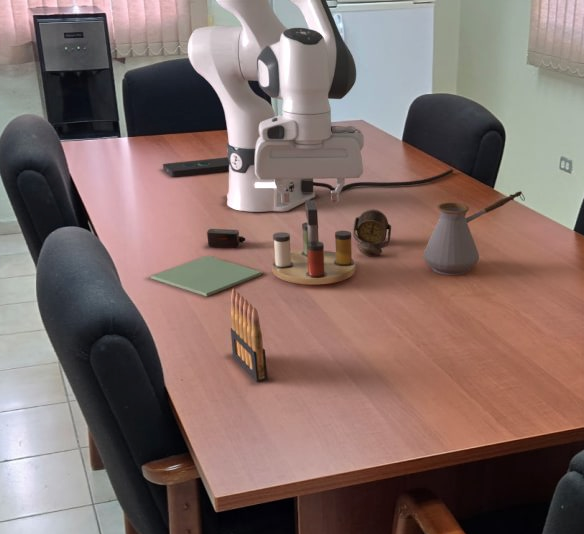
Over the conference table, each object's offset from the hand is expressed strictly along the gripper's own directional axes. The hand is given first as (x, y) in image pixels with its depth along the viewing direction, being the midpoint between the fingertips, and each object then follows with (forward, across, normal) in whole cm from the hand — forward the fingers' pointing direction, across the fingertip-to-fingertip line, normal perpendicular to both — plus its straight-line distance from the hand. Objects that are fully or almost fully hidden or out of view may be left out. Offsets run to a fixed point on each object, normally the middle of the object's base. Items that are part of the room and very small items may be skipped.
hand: (310, 201), depth 182 cm
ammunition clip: (+15, +14, +41) cm, 46 cm away
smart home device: (+14, +22, -82) cm, 86 cm away
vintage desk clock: (+15, -13, -16) cm, 25 cm away
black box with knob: (+15, +16, -20) cm, 30 cm away
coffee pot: (+15, -33, -2) cm, 36 cm away
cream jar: (+12, +6, 0) cm, 14 cm away
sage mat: (+15, +21, -1) cm, 25 cm away
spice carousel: (+15, 0, 0) cm, 15 cm away
